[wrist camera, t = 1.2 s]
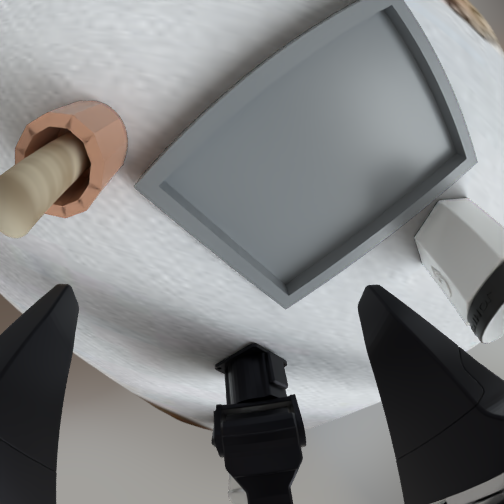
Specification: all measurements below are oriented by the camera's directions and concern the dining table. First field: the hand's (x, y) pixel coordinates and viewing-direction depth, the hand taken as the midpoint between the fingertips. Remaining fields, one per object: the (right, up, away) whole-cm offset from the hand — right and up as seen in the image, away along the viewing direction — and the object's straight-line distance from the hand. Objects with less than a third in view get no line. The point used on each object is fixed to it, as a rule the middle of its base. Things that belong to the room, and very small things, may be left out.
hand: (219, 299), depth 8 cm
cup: (-11, +9, +9) cm, 17 cm away
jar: (+21, +4, +17) cm, 28 cm away
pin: (-11, +9, +9) cm, 16 cm away
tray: (+7, +9, +12) cm, 16 cm away
